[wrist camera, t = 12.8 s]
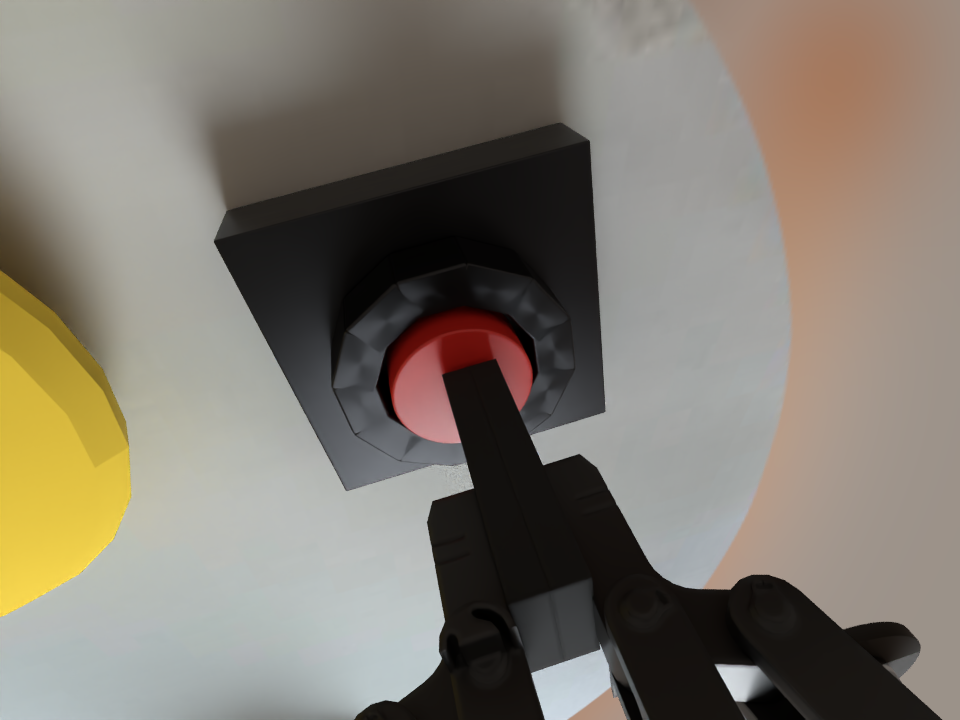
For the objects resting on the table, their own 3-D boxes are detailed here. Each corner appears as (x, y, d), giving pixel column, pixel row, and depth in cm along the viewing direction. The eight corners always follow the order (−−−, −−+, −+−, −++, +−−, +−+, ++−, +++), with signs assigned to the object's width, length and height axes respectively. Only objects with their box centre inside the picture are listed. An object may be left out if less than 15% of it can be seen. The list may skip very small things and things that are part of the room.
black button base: (584, 377, 22) (627, 445, 19) (344, 449, 21) (347, 532, 18) (561, 121, 16) (619, 158, 13) (225, 210, 15) (199, 273, 12)
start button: (524, 386, 18) (541, 421, 16) (406, 421, 17) (413, 460, 16) (505, 280, 15) (523, 311, 14) (367, 320, 15) (372, 355, 14)
